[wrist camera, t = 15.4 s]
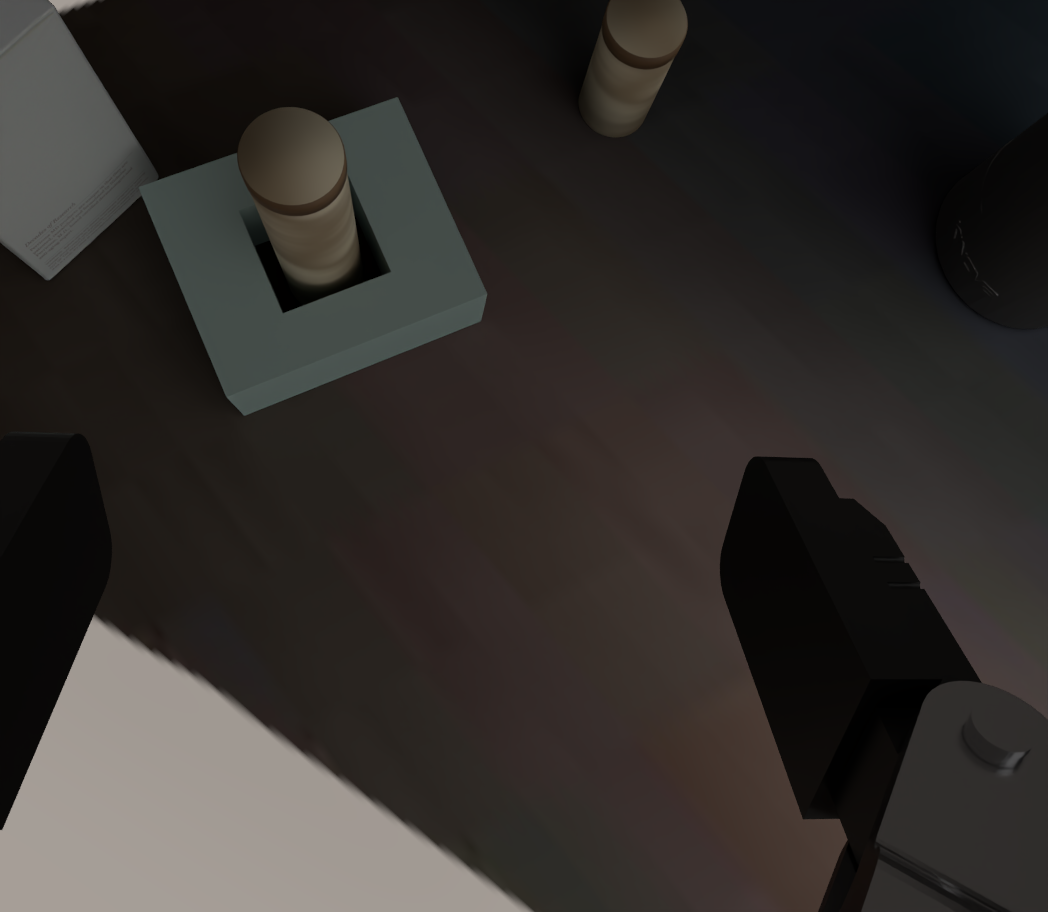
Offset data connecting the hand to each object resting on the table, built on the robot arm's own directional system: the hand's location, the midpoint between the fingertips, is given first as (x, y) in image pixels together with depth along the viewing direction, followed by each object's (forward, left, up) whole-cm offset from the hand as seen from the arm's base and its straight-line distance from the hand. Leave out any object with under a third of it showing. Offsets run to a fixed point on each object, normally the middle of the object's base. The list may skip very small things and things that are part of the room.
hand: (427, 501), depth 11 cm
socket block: (-1, -15, -31) cm, 34 cm away
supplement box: (+9, -24, -31) cm, 40 cm away
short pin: (-18, -18, -31) cm, 40 cm away
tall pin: (-1, -15, -31) cm, 34 cm away
